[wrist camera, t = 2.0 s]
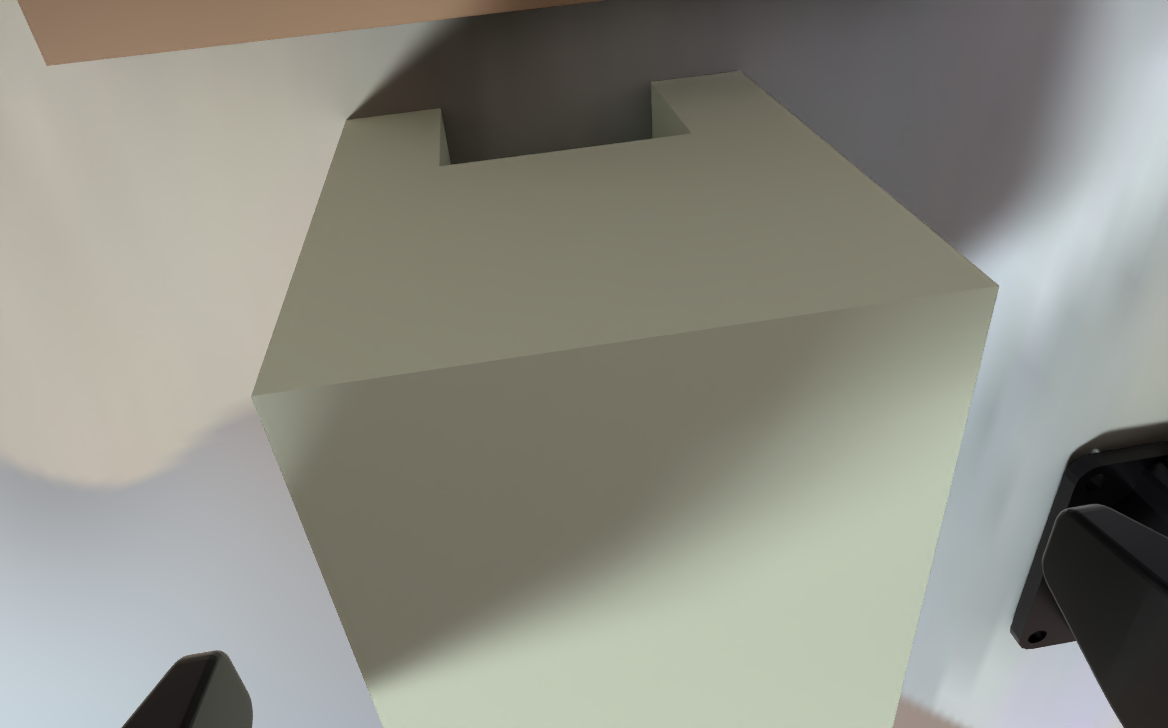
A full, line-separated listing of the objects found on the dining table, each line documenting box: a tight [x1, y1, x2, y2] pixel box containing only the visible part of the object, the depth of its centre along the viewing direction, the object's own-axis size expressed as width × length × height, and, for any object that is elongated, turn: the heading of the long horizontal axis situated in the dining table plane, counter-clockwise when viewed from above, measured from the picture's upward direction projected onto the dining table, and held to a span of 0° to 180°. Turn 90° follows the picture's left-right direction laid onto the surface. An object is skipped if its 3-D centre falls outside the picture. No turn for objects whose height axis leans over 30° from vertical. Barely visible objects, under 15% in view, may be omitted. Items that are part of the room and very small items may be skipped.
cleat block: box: [251, 71, 999, 728], centre depth 11 cm, size 7×6×7 cm
